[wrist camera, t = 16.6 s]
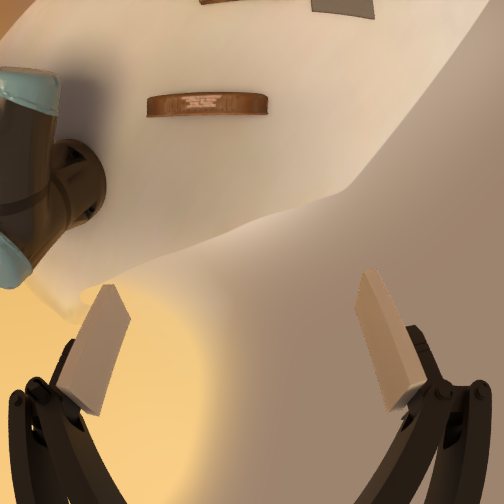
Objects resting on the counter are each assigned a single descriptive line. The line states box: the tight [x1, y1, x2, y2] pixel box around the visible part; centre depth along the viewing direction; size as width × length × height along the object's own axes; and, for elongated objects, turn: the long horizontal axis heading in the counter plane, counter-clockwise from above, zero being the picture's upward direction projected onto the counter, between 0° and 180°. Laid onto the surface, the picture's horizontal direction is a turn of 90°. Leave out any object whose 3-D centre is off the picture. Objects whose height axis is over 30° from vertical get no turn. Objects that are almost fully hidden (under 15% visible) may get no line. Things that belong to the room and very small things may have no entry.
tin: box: [146, 92, 268, 117], centre depth 30 cm, size 15×3×8 cm, turn 88°
